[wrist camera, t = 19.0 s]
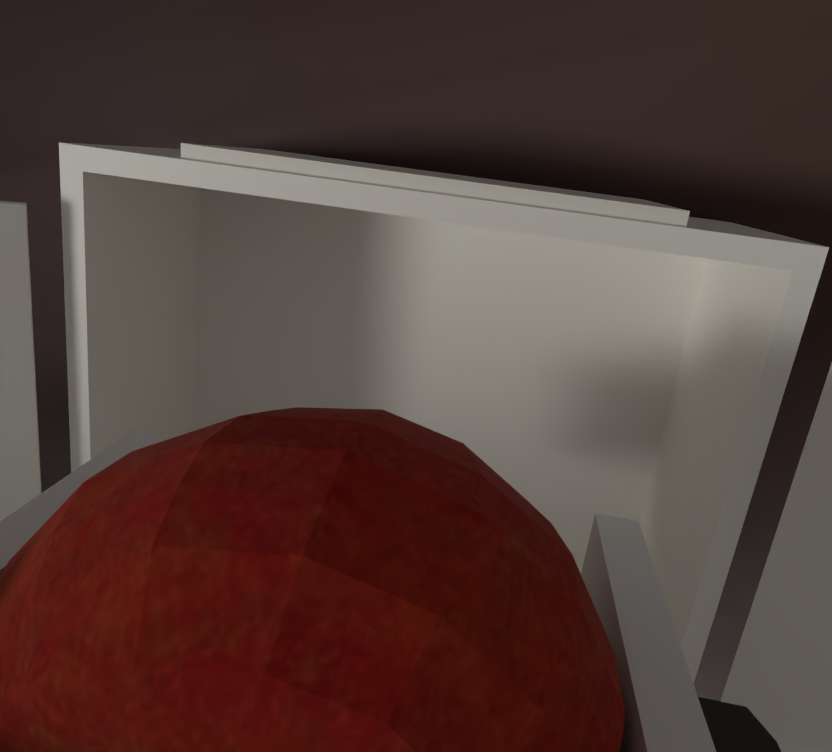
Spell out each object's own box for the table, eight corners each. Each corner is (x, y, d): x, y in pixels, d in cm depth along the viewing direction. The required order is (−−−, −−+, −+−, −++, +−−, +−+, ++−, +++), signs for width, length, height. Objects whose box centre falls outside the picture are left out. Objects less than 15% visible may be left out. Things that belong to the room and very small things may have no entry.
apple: (108, 422, 13) (-424, 751, 6) (487, 264, 11) (426, 453, 4) (285, 734, 15) (51, 1301, 7) (642, 643, 13) (808, 1289, 5)
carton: (184, 538, 23) (78, 657, 18) (192, 138, 19) (58, 126, 14) (624, 622, 22) (662, 782, 16) (733, 210, 18) (834, 231, 12)
